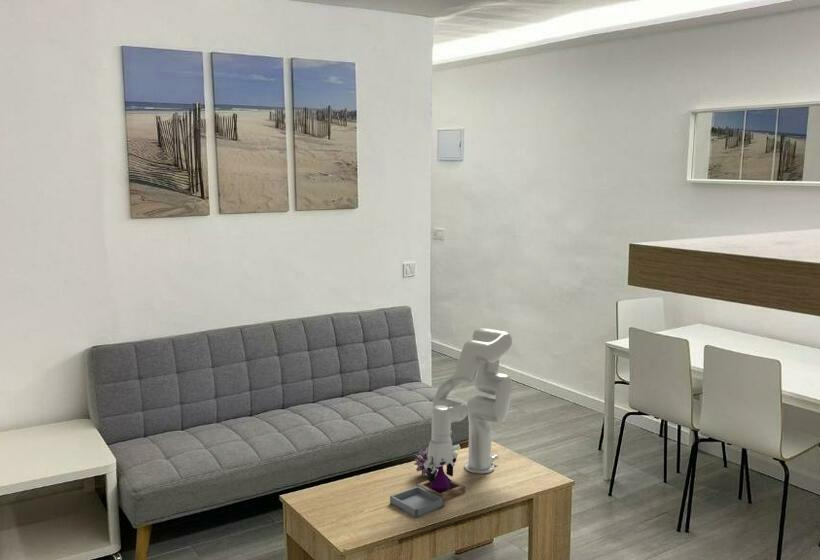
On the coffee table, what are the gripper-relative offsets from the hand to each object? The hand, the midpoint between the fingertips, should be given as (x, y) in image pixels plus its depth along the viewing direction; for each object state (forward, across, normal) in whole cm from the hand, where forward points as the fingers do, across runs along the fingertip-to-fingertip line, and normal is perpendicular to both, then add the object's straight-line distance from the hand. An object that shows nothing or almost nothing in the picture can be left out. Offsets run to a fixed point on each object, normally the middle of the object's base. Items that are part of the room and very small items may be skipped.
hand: (440, 478), depth 292 cm
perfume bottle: (+6, 0, 0) cm, 6 cm away
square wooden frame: (+5, 0, 0) cm, 5 cm away
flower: (+6, -6, -14) cm, 16 cm away
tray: (+5, +15, +3) cm, 16 cm away
